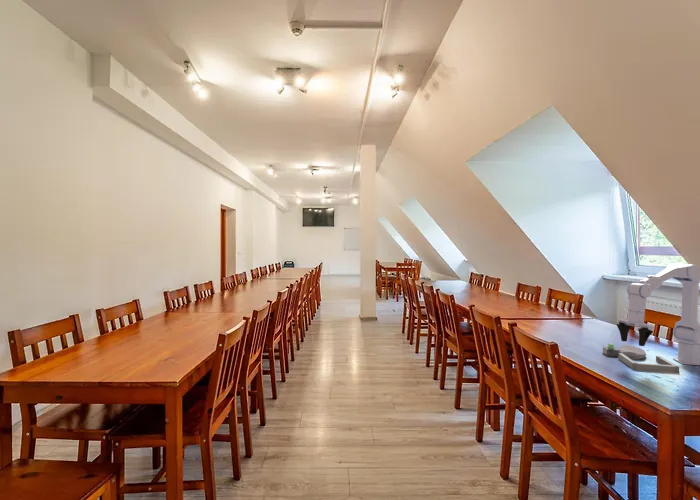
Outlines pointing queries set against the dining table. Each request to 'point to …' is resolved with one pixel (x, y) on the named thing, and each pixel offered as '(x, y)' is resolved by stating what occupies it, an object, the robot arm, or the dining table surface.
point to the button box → (610, 351)
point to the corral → (664, 367)
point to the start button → (610, 346)
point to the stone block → (632, 352)
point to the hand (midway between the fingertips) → (632, 343)
